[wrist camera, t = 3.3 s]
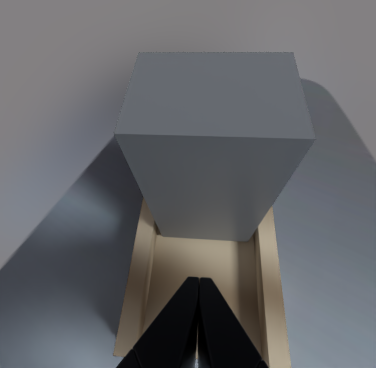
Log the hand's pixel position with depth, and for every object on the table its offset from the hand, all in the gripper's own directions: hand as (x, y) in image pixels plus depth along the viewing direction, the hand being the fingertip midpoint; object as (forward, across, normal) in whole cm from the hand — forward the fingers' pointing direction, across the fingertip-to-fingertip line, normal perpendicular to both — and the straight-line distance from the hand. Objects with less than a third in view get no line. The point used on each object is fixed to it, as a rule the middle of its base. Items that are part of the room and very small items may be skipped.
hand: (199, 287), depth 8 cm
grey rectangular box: (+8, 0, 0) cm, 8 cm away
